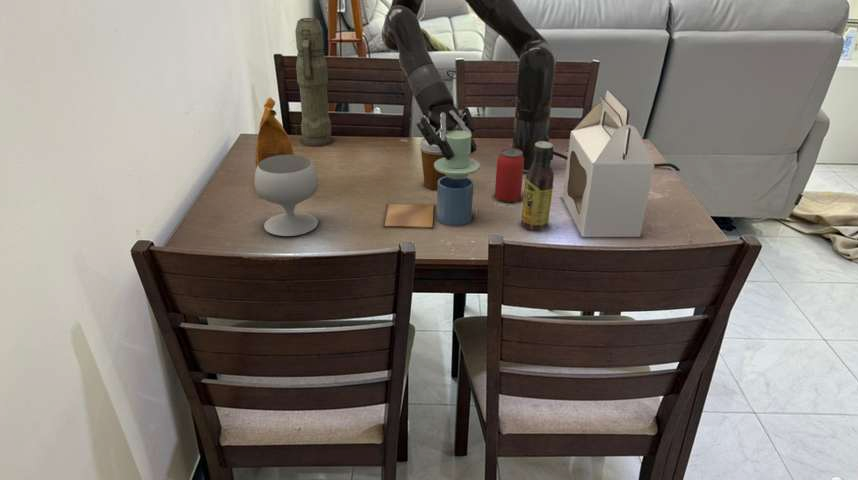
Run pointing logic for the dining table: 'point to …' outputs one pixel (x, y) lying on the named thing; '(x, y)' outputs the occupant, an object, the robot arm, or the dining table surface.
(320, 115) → the stone tiki statue
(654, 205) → the dining table surface
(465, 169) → the pale green top hat
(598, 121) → the gable box
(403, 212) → the cork mat
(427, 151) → the disposable coffee cup
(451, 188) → the blue cup
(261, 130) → the coffee package
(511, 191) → the beer can
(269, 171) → the chalice
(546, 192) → the sauce bottle
